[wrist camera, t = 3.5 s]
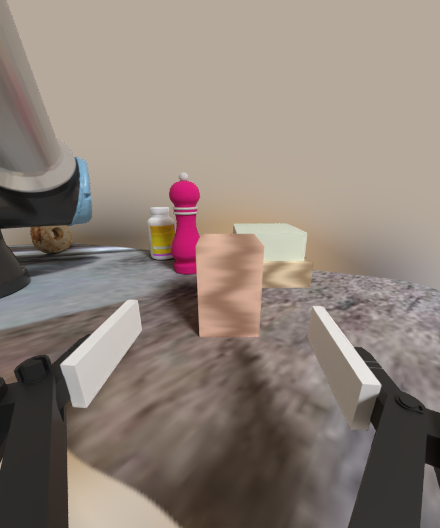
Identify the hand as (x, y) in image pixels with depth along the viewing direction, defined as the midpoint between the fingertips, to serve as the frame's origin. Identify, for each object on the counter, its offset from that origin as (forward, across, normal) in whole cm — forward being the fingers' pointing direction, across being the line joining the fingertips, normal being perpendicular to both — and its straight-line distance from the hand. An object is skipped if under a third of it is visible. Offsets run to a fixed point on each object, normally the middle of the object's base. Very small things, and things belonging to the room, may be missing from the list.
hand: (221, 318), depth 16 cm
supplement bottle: (+39, -19, -7) cm, 44 cm away
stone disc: (+42, -52, -7) cm, 67 cm away
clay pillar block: (+11, 0, -7) cm, 13 cm away
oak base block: (+28, +7, -8) cm, 30 cm away
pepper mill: (+30, -10, -7) cm, 32 cm away
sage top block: (+29, +6, -2) cm, 30 cm away
